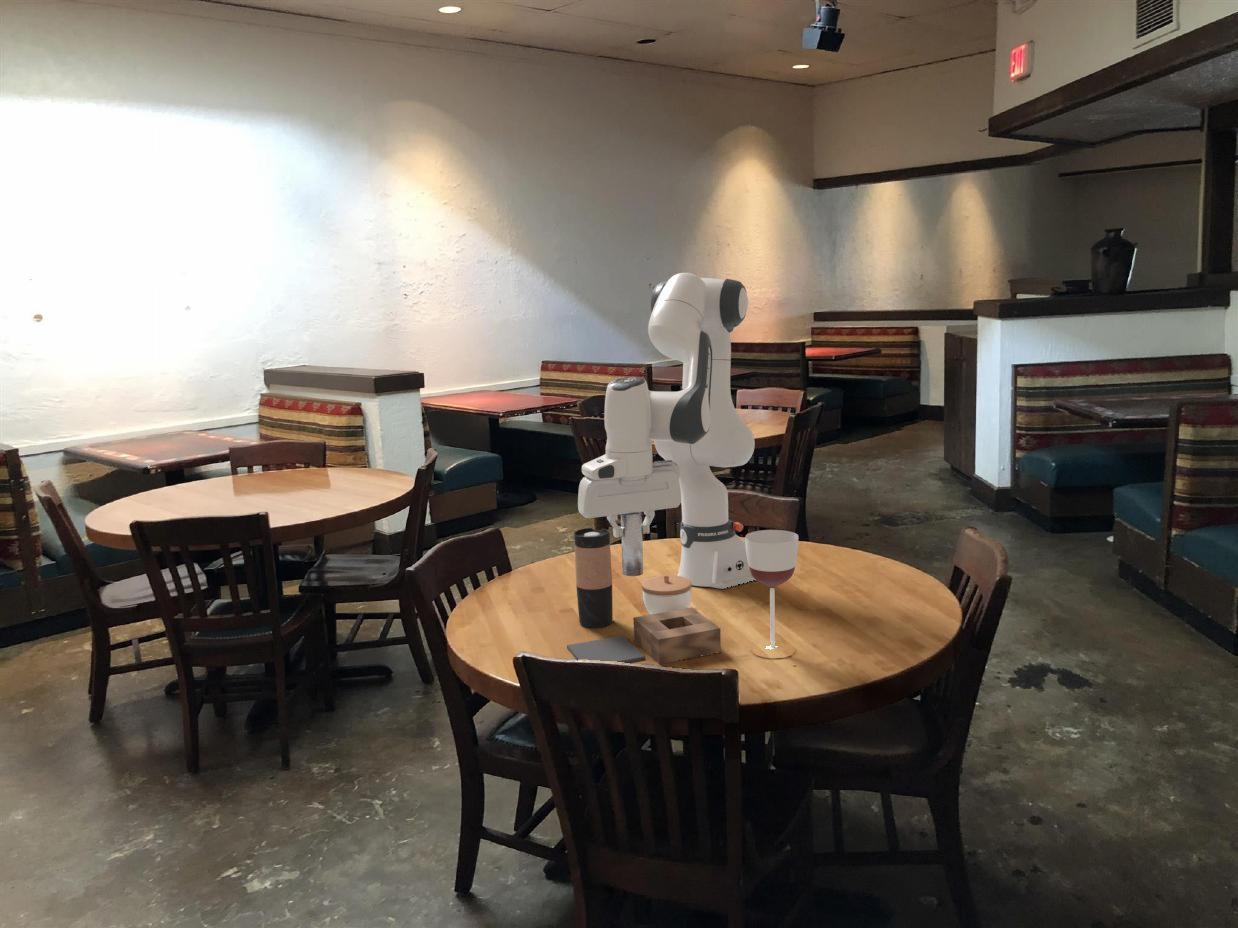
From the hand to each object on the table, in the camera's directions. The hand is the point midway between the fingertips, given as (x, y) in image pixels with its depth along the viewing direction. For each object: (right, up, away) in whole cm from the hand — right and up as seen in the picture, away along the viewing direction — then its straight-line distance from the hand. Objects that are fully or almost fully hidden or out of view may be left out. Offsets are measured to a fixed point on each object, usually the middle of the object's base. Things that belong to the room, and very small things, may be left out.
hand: (631, 534), depth 179 cm
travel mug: (-7, -21, +21) cm, 30 cm away
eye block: (+9, -23, +6) cm, 25 cm away
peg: (0, -8, +1) cm, 8 cm away
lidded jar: (+8, -20, +23) cm, 31 cm away
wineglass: (+28, -23, +2) cm, 36 cm away
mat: (-5, -24, +4) cm, 25 cm away
